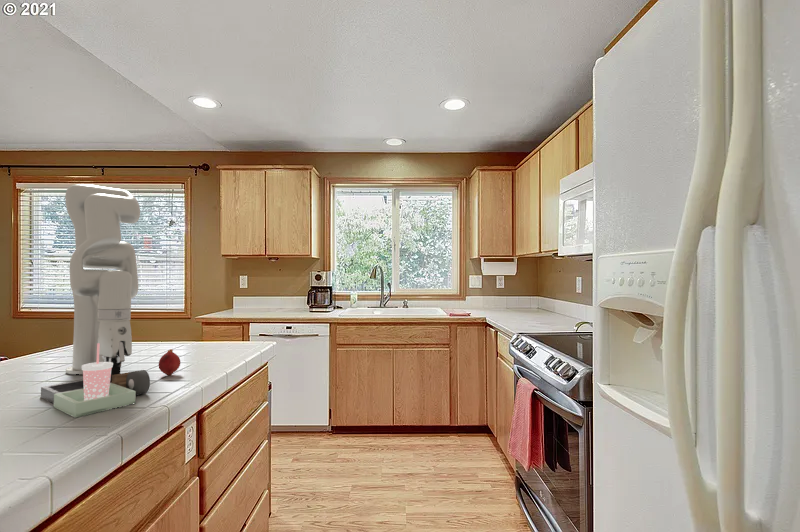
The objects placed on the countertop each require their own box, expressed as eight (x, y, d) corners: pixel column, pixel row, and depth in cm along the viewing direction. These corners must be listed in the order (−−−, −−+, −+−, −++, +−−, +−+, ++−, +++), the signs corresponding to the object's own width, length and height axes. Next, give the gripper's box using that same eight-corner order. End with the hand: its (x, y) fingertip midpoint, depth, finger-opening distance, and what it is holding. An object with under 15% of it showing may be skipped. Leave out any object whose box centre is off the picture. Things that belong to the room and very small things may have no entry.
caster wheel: (124, 393, 107) (125, 370, 107) (138, 390, 109) (139, 368, 110) (136, 398, 103) (137, 374, 103) (150, 394, 106) (151, 371, 106)
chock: (111, 392, 108) (111, 375, 109) (135, 387, 113) (136, 370, 114) (120, 395, 106) (121, 378, 106) (145, 390, 111) (145, 373, 111)
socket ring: (40, 397, 102) (41, 387, 102) (87, 388, 111) (88, 378, 111) (56, 404, 97) (56, 394, 97) (104, 394, 105) (105, 385, 105)
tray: (53, 407, 95) (54, 394, 95) (112, 394, 105) (112, 383, 106) (75, 417, 89) (75, 403, 89) (135, 403, 99) (135, 391, 99)
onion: (170, 378, 123) (171, 351, 123) (153, 377, 124) (154, 350, 124) (184, 374, 128) (184, 348, 128) (168, 372, 129) (168, 347, 130)
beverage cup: (109, 404, 96) (111, 344, 96) (76, 408, 93) (79, 346, 94) (114, 397, 101) (116, 340, 102) (83, 400, 99) (85, 341, 99)
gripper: (142, 316, 114) (140, 383, 113) (117, 312, 122) (114, 375, 121) (111, 318, 107) (109, 389, 107) (87, 314, 115) (84, 380, 115)
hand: (112, 381), depth 114 cm, fingers closed
